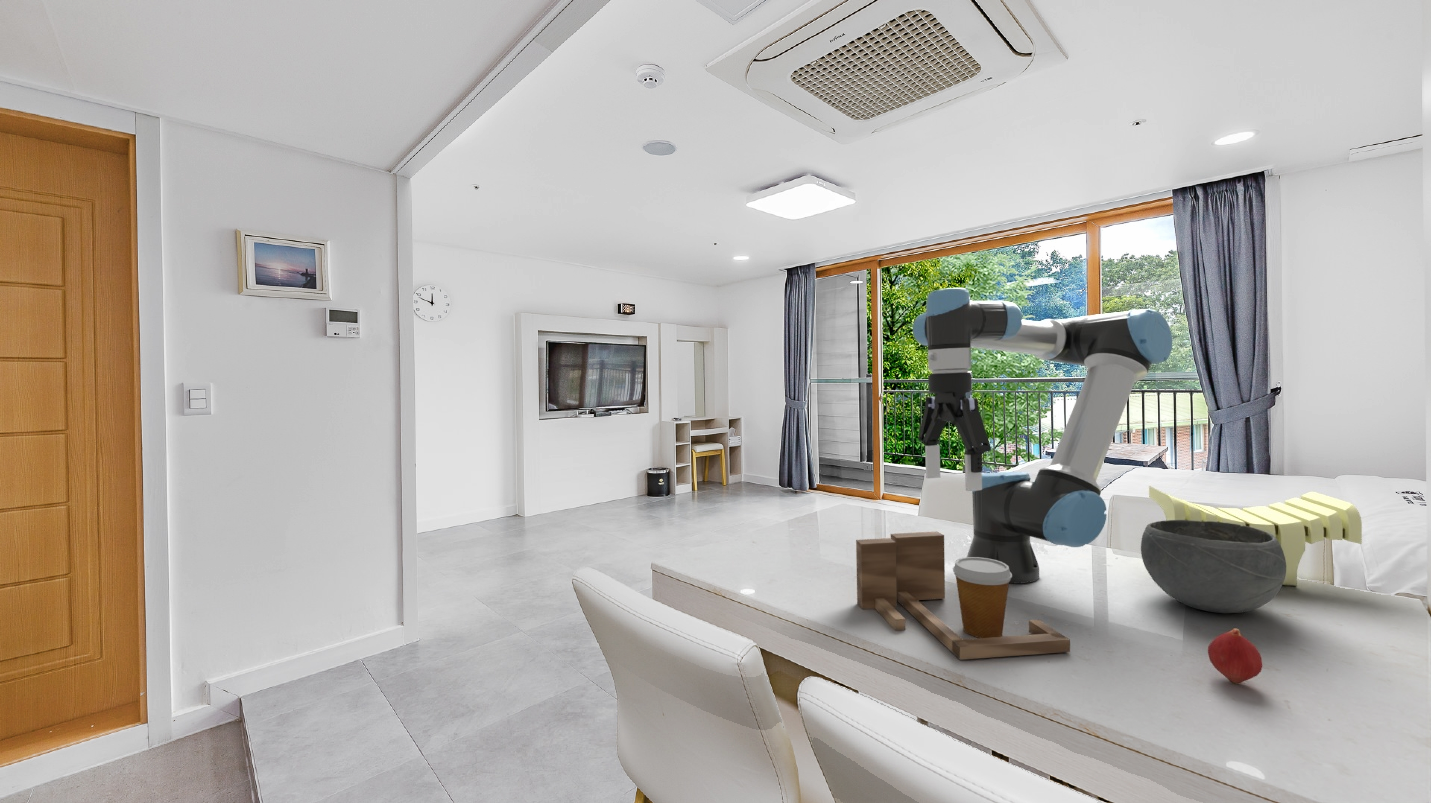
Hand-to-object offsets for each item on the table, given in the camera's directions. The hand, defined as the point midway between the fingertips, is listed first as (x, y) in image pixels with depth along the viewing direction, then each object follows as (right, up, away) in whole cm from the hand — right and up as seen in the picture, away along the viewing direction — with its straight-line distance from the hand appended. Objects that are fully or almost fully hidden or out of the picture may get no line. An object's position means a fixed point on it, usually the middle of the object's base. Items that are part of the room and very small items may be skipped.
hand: (952, 483), depth 108 cm
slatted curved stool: (+72, -23, +17) cm, 77 cm away
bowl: (+50, -24, +1) cm, 55 cm away
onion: (+30, -25, -26) cm, 47 cm away
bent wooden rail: (+2, -25, -3) cm, 25 cm away
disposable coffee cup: (+2, -25, -7) cm, 26 cm away
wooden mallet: (-12, -25, +1) cm, 28 cm away
